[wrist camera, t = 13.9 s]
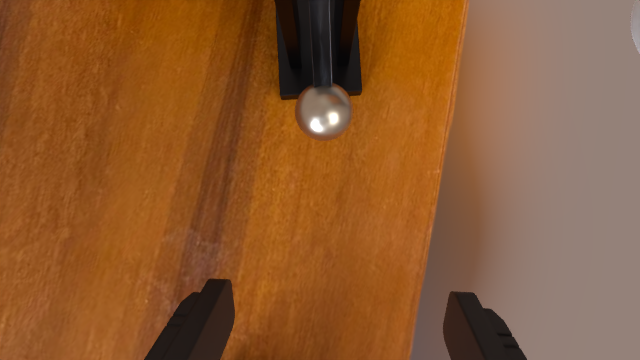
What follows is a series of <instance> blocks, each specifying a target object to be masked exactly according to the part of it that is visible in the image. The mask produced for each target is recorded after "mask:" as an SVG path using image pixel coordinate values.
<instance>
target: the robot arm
mask: <svg viewBox="0 0 640 360" xmlns="http://www.w3.org/2000/svg"><path fill="white" fill-rule="evenodd" d="M234 318H235V309H234V301H233V292H232V284H231V281H230V280H229V279H209V280H208V281H207V282H206V284H205V286H204V287H203V289H202V291H201V292H200V293H199V292H193V293H192V294H190V295H189V296H188V297H187V298H185V299H184V300H183V301H182V302H181V303H180V305H179V306H178V308H177V309H176V311H175V312H174V314H173V316H172V317H171V318H170V320H169V322H168V323H167V326H165V328H164V329H163V331H162V332H161V334H160V336H159V337H158V339H157V340H156V342H155V343H154V345H153V346H152V348H151V350H150V351H149V353H148V354H147V356H146V357H145V359H144V360H220V358H221V356H222V353H223V351H224V348H225V346H226V343H227V341H228V338H229V336H230V333H231V331H232V328H233V324H234ZM443 334H444V340H445V344H446V346H447V349H448V352H449V355H450V358H451V360H527V358H526V357H525V355H524V354H523V352H522V350H521V349H520V348H519V345H518V343H517V342H516V340H515V339H514V337H512V333H511V332H510V330H509V328H508V327H507V325H506V324H505V322H504V320H503V319H501V318H500V317H499V316H498V315H497V314H496V313H495V312H494V311H493V310H491V309H485V308H483V307H482V306H481V304H480V302H479V300H478V298H477V296H476V295H475V294H474V293H471V292H453V291H452V292H450V294H449V298H448V303H447V308H446V313H445V318H444V323H443Z"/></svg>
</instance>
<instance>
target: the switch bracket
mask: <svg viewBox="0 0 640 360" xmlns="http://www.w3.org/2000/svg"><path fill="white" fill-rule="evenodd" d="M274 1H275V5H276V23H277V43H278V63H279V84H280V96H281V99H282V100H289V99H298V97H299V95H300V94H301V93H302V91H303V90H304V89H306V88H307V87H308V86H310V85H312V84H313V69H312V53H311V36H310V20H309V4H308V0H274ZM360 1H361V0H330V24H331V56H332V83H334V84H337V85H339V86H340V87H342V88H343V89H344V90H345V91H346V92H347V94H348V95H349V96H357V95H361V92H362V82H361V67H360V53H359V39H358V24H357V17H358V12H359V6H360Z"/></svg>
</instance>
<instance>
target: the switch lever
mask: <svg viewBox="0 0 640 360" xmlns="http://www.w3.org/2000/svg"><path fill="white" fill-rule="evenodd" d="M308 4H309V20H310V36H311V53H312V69H313V84H312V85H310V86H308V87H307V88H306V89H304V90H303V91H302V93H301V94H300V95H299V97H298V99H297V102H296V106H295V116H296V121H297V123H298V125H299V127H300V129H301V130H302V131H303V132H304V133H305V134H306V135H307V136H309V137H311V138H312V139H315V140H319V141H329V140H333V139H336V138H338V137H339V136H341V135H342V134H343V133H344V132H345V131H346V130H347V129H348V127H349V126H350V124H351V121H352V117H353V105H352V101H351V99H350V97H349V95H348V94H347V92H346V91H345V90H344V89H343V88H342V87H340V86H339V85H337V84H334V83H332V56H331V24H330V0H308Z"/></svg>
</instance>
